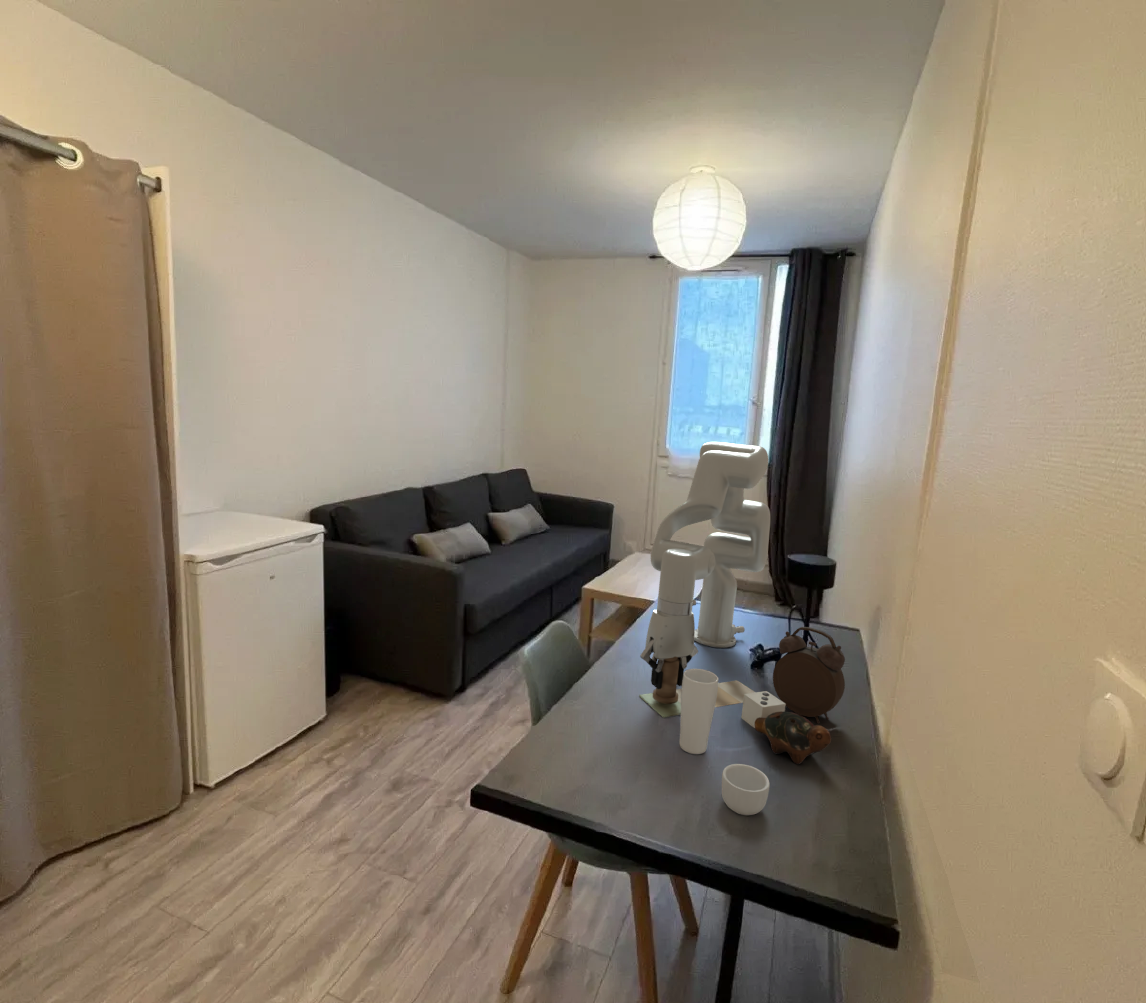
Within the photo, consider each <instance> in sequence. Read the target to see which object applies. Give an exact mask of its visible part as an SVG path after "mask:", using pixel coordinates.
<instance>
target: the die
mask: <svg viewBox="0 0 1146 1003" xmlns="http://www.w3.org/2000/svg"><path fill="white" fill-rule="evenodd" d="M755 692H756V693H749V694H744V701H743V703H742V709H741V719H742V720H743V721H745V723H747V724H748V725H749V726H751V727H752V728H754V729H755V720H756V719H757V718H759V717H761V718H767V716H768V715H770V714H772V713H775V712H780V711H782V712H786V707H785V705H786V704H785V703H784V702H782V701H781V700H780V698H779V697H776V696H775V695H773V693H770V692H769V691H767V690H765V691H755Z"/></svg>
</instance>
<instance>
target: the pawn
mask: <svg viewBox="0 0 1146 1003" xmlns="http://www.w3.org/2000/svg"><path fill="white" fill-rule="evenodd" d="M678 669H679V659H678V657H676V656H675V657H673V658H668V659H665V660H664V663H663V666H662V669H661V671H662V672H663V679H662V688H661V689H657V688H656V687H655V689H653V691H652V693H653V698H654V700H656V701H658V702H660V703H664V704H673V703H676V702H677V701H678V693H677V692H676V689H678V688H677V686H678V685H677V678H678Z"/></svg>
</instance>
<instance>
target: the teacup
mask: <svg viewBox="0 0 1146 1003" xmlns="http://www.w3.org/2000/svg"><path fill="white" fill-rule="evenodd" d="M770 785H771V784H770V780H769V778H768V776H767V775H766V774H765V773H764V772H763V771H761V770H760V769H758V768H756V767H754V766H752V765H748V764H743V763H733V764H729V765H726V767H724V769H723V770H722V774H721V797H722V799H723V801H724V803H725V804H726V806H727V807H728V808H729V809H730V810H731V811H733V812H734V813H737V814H739V815H742V816H753V815H755V814H759V813H760V812H761V811H762V810H763V809H764V808H765V806H766V804H767V801H768V797H769V793H770Z"/></svg>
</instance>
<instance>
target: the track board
mask: <svg viewBox="0 0 1146 1003" xmlns="http://www.w3.org/2000/svg"><path fill="white" fill-rule="evenodd" d="M676 692H677V693H678V701H677V702H676V703H673V704H664V703H660V702H658V701H656V700H654V698H653V692H651V693H644V694H639V696H638V697H639V698H640V699H641V700H643V701H644V702H645V703H646V704H647V703H648V704H647V705H648V706H650V708H652V709H653V710H654V711H655V712H656V713H657V714H659V715H660V716H661V717H662V719H664V718H669V717H676V716H681V688H676ZM756 692H757V691H754V690H753V689H751V688H749V687H748V686H747V685H746V684H743V683H742V682H740V681H739V680H737V679H736V680H731V681H724V682H718V692H717V699H716V704H715V708H721V707H725V706H730V705H731V706H733V705H736V704H743V701H744V694H749V693H756Z"/></svg>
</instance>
